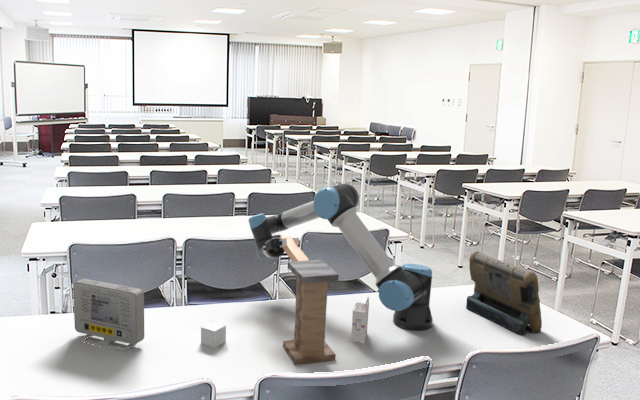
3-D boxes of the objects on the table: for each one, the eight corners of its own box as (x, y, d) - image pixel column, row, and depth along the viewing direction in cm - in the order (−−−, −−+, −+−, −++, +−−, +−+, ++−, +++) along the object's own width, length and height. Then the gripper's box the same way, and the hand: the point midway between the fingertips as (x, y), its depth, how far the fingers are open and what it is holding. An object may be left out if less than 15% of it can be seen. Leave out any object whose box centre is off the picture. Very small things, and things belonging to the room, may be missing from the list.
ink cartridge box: (353, 332, 210) (356, 294, 207) (367, 333, 209) (369, 295, 206) (350, 341, 202) (352, 302, 199) (364, 343, 201) (366, 304, 198)
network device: (148, 343, 193) (148, 287, 189) (132, 354, 185) (131, 295, 181) (87, 329, 201) (85, 276, 197) (69, 339, 193) (66, 283, 189)
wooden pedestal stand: (282, 345, 196) (285, 262, 191) (319, 340, 201) (324, 259, 196) (295, 366, 182) (299, 277, 176) (336, 361, 187) (341, 274, 181)
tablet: (547, 330, 220) (555, 269, 215) (525, 338, 212) (533, 274, 207) (480, 303, 246) (486, 247, 241) (458, 308, 238) (464, 251, 233)
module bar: (279, 243, 216) (280, 236, 215) (289, 243, 218) (290, 235, 217) (297, 268, 197) (298, 261, 196) (308, 268, 199) (309, 260, 198)
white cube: (214, 348, 192) (214, 331, 191) (200, 343, 195) (200, 327, 194) (225, 341, 197) (226, 325, 196) (212, 337, 200) (212, 321, 199)
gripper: (294, 256, 233) (314, 250, 211) (254, 258, 226) (270, 253, 205) (293, 238, 234) (312, 230, 212) (252, 239, 228) (268, 232, 206)
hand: (291, 241), depth 209 cm, fingers closed on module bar, 4 cm apart
